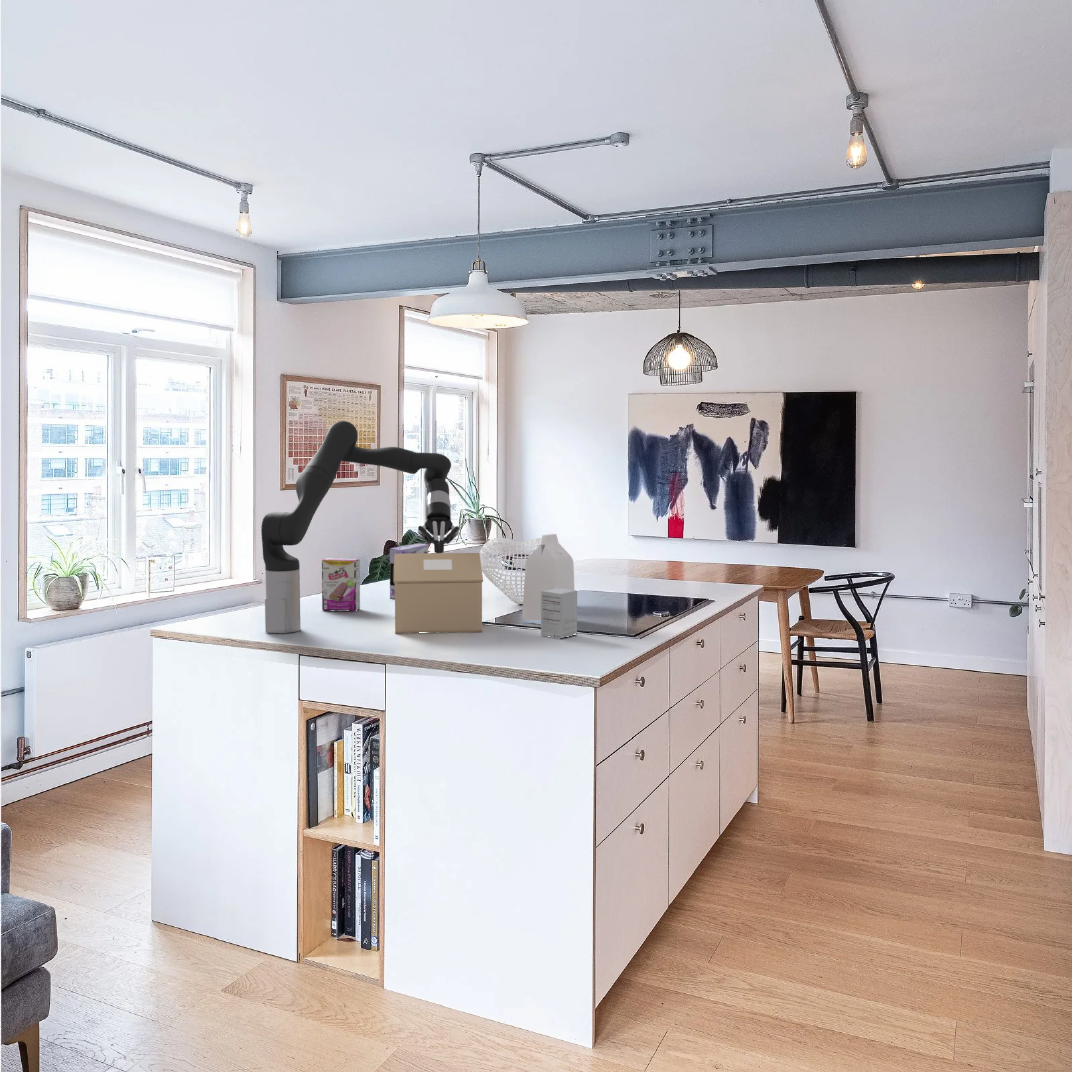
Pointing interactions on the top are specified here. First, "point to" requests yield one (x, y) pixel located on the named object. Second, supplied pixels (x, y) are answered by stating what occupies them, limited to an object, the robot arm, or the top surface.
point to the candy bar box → (340, 584)
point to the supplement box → (558, 612)
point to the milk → (546, 574)
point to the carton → (438, 607)
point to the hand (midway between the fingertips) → (439, 552)
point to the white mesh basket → (485, 571)
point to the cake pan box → (403, 550)
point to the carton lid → (437, 567)
